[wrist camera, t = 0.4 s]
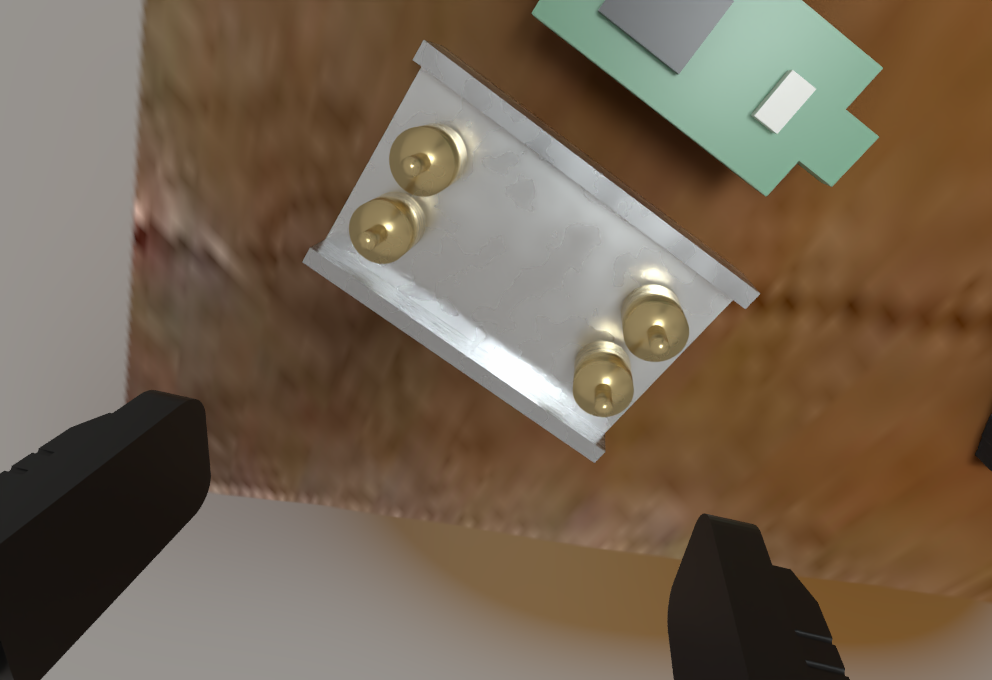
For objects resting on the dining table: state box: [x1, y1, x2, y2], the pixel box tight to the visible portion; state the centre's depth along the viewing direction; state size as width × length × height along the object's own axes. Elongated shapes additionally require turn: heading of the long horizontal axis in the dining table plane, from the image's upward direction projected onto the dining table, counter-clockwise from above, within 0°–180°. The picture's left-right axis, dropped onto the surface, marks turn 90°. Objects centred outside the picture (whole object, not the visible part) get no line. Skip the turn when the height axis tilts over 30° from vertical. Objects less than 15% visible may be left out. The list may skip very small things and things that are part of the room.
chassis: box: [303, 40, 760, 463], centre depth 30 cm, size 13×20×6 cm, turn 55°
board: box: [532, 0, 883, 197], centre depth 23 cm, size 6×16×2 cm, turn 55°
